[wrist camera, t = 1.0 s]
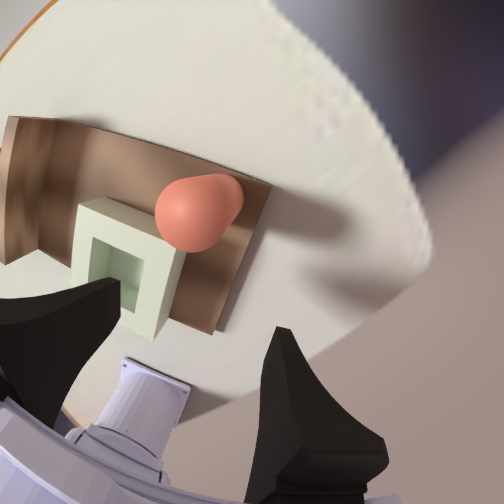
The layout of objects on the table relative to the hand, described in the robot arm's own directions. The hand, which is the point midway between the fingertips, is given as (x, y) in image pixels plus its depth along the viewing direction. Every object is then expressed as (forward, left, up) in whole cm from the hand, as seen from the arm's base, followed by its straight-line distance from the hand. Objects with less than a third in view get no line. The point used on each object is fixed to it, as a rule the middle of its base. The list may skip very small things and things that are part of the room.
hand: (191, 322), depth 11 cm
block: (-3, +7, -9) cm, 12 cm away
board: (-1, +10, -10) cm, 14 cm away
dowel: (+4, +2, -9) cm, 10 cm away
